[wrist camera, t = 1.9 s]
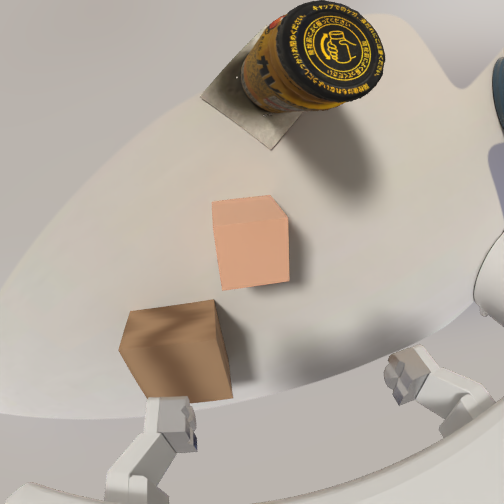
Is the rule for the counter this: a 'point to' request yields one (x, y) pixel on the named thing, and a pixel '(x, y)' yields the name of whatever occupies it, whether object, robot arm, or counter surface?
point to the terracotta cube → (251, 242)
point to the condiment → (298, 69)
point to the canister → (499, 88)
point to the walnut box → (178, 352)
